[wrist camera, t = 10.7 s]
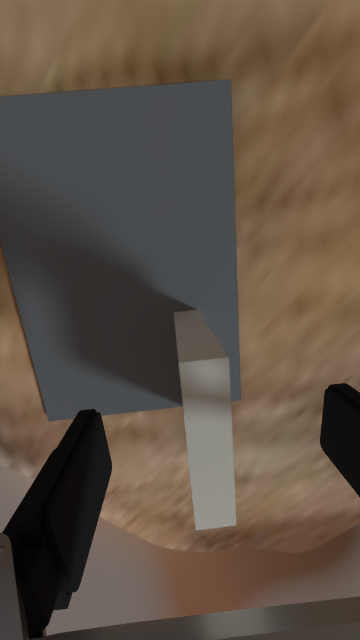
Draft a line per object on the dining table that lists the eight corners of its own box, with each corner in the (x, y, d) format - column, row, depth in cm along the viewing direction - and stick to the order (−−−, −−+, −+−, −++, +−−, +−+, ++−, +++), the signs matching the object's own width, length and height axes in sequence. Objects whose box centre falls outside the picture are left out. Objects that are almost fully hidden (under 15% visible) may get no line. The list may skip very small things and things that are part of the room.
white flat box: (173, 312, 17) (178, 362, 8) (197, 309, 17) (229, 357, 8) (183, 405, 18) (195, 530, 10) (204, 403, 19) (236, 525, 10)
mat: (-30, 106, 14) (-39, 99, 13) (228, 87, 14) (230, 79, 13) (52, 416, 19) (48, 421, 18) (238, 395, 19) (240, 399, 19)
